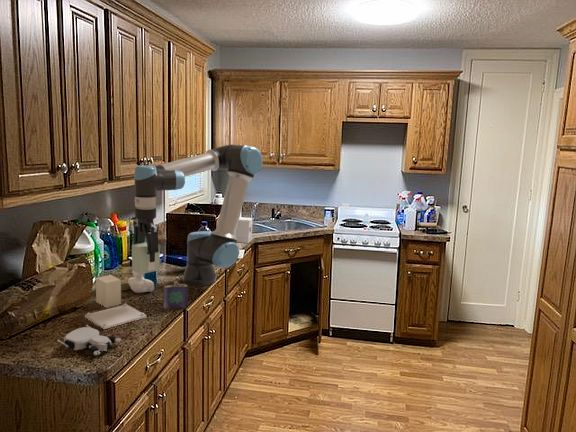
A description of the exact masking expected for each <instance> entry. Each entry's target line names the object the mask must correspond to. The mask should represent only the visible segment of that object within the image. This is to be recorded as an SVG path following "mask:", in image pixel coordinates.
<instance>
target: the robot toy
mask: <svg viewBox="0 0 576 432" xmlns="http://www.w3.org/2000/svg"><path fill="white" fill-rule="evenodd" d="M121 341H122V339H121V338H120V337H116V336H105V335H100V331H99V330H98V329H95V328H94V327H91V326H90V325H88V324H86V325H85V327H79V328H76V329H74V330H72V331H70V332H68V333H67V334H66V335H65V336H64V337H63V341H61V340H60V339H57V342H58V343H60V344H62V345H63V346H64V347H65V348H67V349H70V350H72V349H73V350H72V351H80V350H84V349H89V352H90V354H91V355H94V356H98V355H100V354H101V352H100V351H106V352H107V351H109V350H111V348H112V344H115V343H120V342H121Z"/></svg>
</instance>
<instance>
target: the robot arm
mask: <svg viewBox="0 0 576 432" xmlns="http://www.w3.org/2000/svg"><path fill="white" fill-rule="evenodd" d="M263 163H264V162H263V155H262V153H261V151H260V150H259V149H258V148H257V147H255V146H251V145H242V144H240V145H239V144H225V145H222V146H218V147H215V148H212V149H208V150H207V151H206V152H205V153H204V152H203V153H202V154H198V155H194V156H189V157H185V158H182V159H178V160H174V161H170V162H167V163H163V164H157V165H143V164H141V165H137V166H136V167H135V168H134V173H133V174H134V176H133V179H134V207H135V208H134V218H135V219H137V220H134V221H132V223H133V244H139V243H145V242H147V247H148V252H149V253H147V270H148V271H150V270H154V269H155V253H157V252H159V245H160V244H159V229H160V228H159V226H158V225H155V223H154V220H155V219H156V218H157V208H156V207H157V192H160V191H161V192H162V191H177V190H182V189H183V188H184V186H185V185H186V177H190V176H193V175H196V174H200V173H204V172H207V171H212V172H215V171H220V170H221V171H223V170H224V171H225V170H226V173H227V175H228V176H229V178H228V183H227V185H226V190H225V194H224V197H223V202H222V205H221V208H220V212H219V216H218V219H217V224H216V228H215V230H213V231H210V230H209V231H206V230H205V231H204V230H202V231H193V232H189V234H188V235H187V240H186V246H187V248H186V266H185V269H184V273H183V275H182V283H183V284H184V285H187V286H193V287H203V286H206V287H207V286H211V285H213V284H215V283H216V282H217V275H216V271H215V267H218V268H224V269H226V268H229V267H231V266H232V265H234V264H235V263H236V261H237V260H238V259H239V256H240V249H239V246H238V244H237V243H238V242H237V238H236V236H235V232H236V228H237V225H238V221H239V217H241V213H242V208H243V207H244V202H245V198H246V194H247V190H248V187H249V183H250V182H251V181H252V180H254V177H255V175H256V174H258V173H259V172H260V171H261V170H262V168H263ZM145 240H146V241H145ZM214 266H215V267H214Z"/></svg>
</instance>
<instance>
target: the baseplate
mask: <svg viewBox="0 0 576 432" xmlns="http://www.w3.org/2000/svg"><path fill="white" fill-rule="evenodd" d="M84 318H85V319H86V318H87V319H88V320H87V319H86V320H87V321H89V320H90V321H92V322H93V323H95V324H97V325H98V326H100V327H101V328H103V329H106V328H110V327H113V326H117V325H121V324H124V323H127V322H131V321H134V320H139V319H142V318H146V319H147V315H146V314H145V313H144V312H141V311H140V310H138V309H136V308H134V307H133V306H130V305H128V304H127V303H123V304H121V305H117V306H113V307H109V308H105V309H103V310H100V311H95V312H87V313H86V314H84ZM142 320H143V319H142ZM90 321H89V322H90ZM139 321H140V320H139ZM92 322H91V323H92ZM93 323H92V324H93ZM95 324H94V325H95ZM98 326H97V327H98ZM101 328H100V329H101Z"/></svg>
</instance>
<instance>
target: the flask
mask: <svg viewBox="0 0 576 432" xmlns="http://www.w3.org/2000/svg"><path fill="white" fill-rule="evenodd" d="M188 295H189V285H188V284H185V283H179V282H178V280H174V281H173V284H170V285H168V284H167V285H164V286H163V303H162V304H163V305H162V306H163V309H164V310H176V309H186V308H188V306H189V305H188V304H189V296H188Z"/></svg>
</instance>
